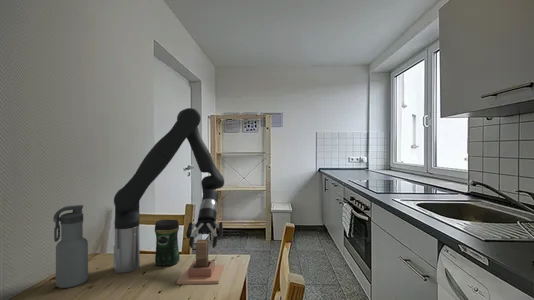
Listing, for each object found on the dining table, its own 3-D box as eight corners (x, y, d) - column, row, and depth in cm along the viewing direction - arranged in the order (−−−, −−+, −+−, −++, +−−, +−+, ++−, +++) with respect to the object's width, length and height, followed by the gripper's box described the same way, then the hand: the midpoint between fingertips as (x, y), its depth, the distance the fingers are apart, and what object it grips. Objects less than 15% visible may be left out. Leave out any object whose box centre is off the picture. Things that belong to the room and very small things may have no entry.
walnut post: (206, 274, 108) (206, 242, 109) (195, 274, 108) (195, 242, 108) (208, 270, 112) (208, 239, 113) (198, 270, 112) (197, 239, 112)
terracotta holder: (218, 283, 103) (218, 272, 103) (176, 284, 103) (176, 273, 103) (224, 267, 118) (224, 257, 118) (187, 267, 118) (187, 257, 118)
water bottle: (51, 291, 99) (51, 210, 99) (57, 280, 107) (57, 205, 108) (86, 285, 103) (85, 207, 103) (89, 275, 112) (89, 203, 112)
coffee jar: (182, 260, 126) (181, 217, 127) (173, 267, 119) (173, 222, 119) (161, 259, 128) (161, 217, 128) (151, 266, 120) (151, 221, 120)
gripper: (189, 207, 121) (182, 242, 109) (223, 206, 121) (219, 242, 109) (193, 217, 126) (186, 252, 114) (225, 216, 126) (221, 251, 114)
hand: (202, 247), depth 112 cm, fingers open, 8 cm apart
